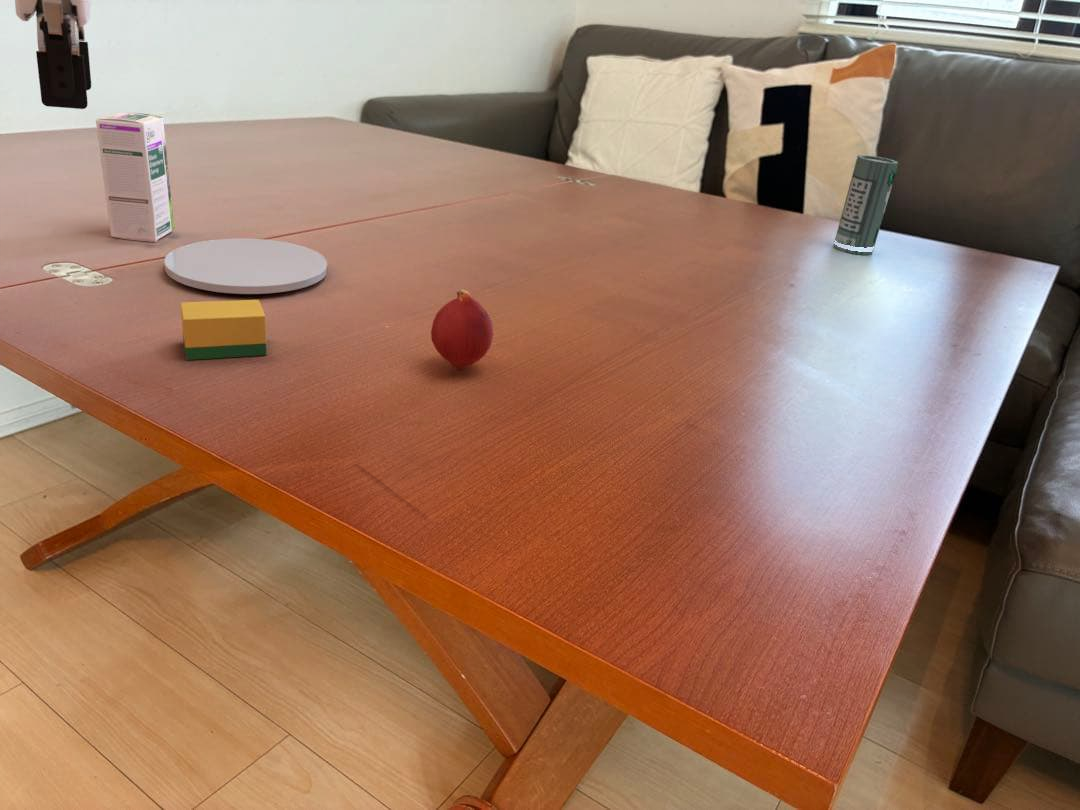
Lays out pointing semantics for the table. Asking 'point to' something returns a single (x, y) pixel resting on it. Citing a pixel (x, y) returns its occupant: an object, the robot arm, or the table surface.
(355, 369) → the table surface
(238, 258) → the plate
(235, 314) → the sponge
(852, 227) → the can
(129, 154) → the syrup box
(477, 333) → the onion
